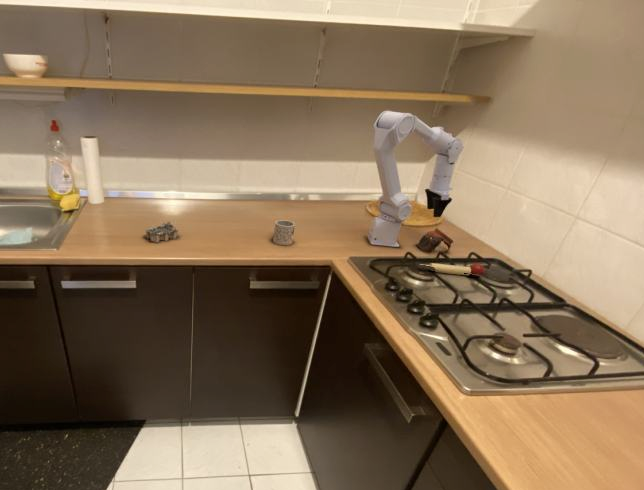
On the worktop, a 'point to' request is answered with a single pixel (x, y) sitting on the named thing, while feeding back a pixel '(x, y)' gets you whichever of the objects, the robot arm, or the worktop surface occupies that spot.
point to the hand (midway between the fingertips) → (433, 212)
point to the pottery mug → (434, 240)
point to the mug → (283, 232)
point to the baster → (458, 269)
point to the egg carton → (162, 232)
